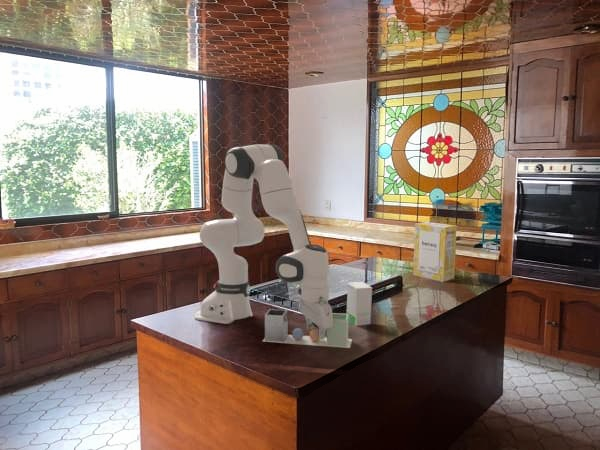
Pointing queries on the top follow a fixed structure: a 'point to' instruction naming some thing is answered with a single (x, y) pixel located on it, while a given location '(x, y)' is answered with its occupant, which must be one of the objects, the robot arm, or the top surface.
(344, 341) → the tube sage
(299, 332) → the ball slate
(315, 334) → the ball terracotta
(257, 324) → the top surface
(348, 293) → the skincare box
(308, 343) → the board
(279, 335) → the tube grey
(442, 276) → the pasta box
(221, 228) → the robot arm
